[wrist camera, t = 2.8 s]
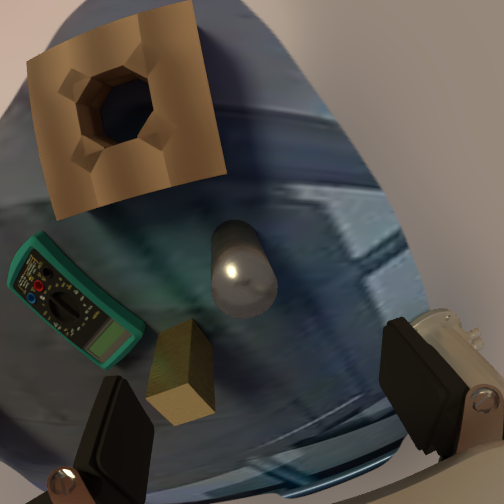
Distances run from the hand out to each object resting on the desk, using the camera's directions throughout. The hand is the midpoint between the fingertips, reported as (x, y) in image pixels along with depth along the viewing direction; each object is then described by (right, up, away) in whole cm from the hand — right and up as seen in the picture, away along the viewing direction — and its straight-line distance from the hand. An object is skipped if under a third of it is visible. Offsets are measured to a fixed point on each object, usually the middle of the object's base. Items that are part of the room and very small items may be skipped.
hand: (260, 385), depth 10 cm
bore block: (-10, +16, +12) cm, 22 cm away
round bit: (-2, +5, +17) cm, 18 cm away
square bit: (-7, -4, +20) cm, 21 cm away
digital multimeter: (-18, 0, +18) cm, 25 cm away
